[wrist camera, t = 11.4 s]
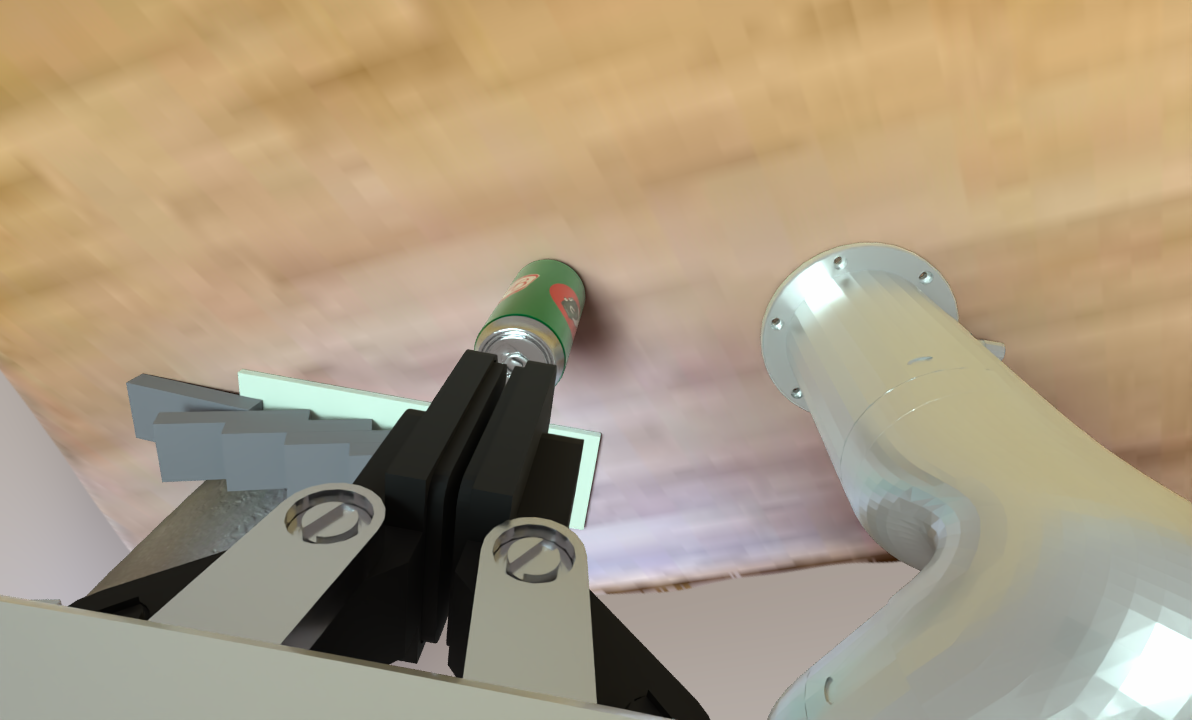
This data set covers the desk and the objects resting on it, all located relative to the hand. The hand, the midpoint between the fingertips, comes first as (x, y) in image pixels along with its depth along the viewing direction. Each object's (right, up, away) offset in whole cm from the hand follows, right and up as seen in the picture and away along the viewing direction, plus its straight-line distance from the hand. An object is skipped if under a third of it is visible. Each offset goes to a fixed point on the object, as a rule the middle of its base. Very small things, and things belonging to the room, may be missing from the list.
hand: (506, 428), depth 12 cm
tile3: (-11, -7, +38) cm, 40 cm away
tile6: (-25, -4, +38) cm, 46 cm away
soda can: (-2, +6, +33) cm, 34 cm away
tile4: (-16, -6, +38) cm, 42 cm away
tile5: (-21, -5, +38) cm, 44 cm away
